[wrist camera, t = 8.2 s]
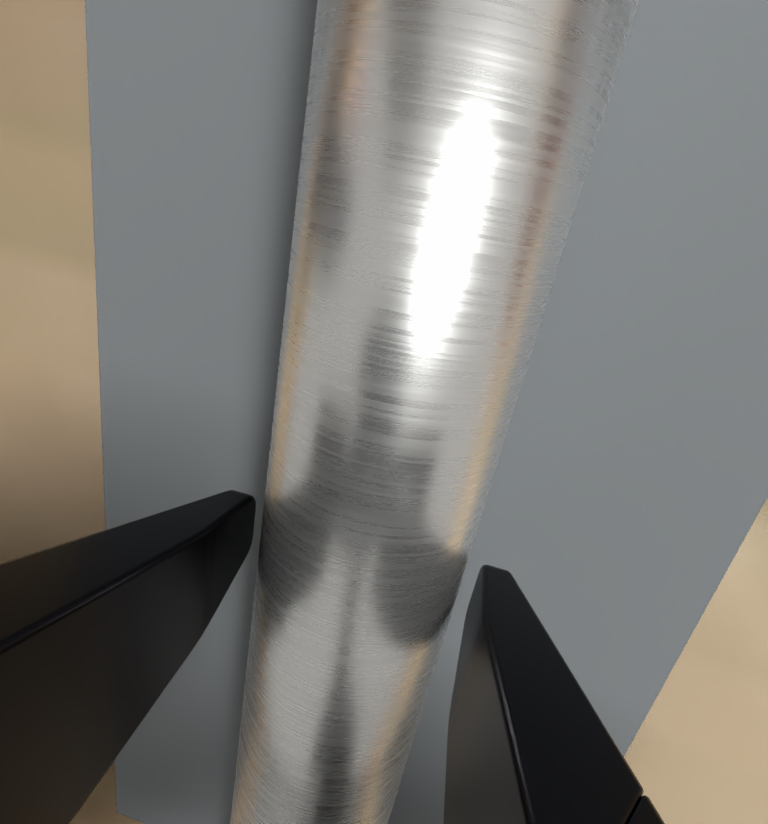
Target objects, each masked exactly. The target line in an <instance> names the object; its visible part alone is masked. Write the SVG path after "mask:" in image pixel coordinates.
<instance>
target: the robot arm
mask: <svg viewBox="0 0 768 824" xmlns="http://www.w3.org/2000/svg"><path fill="white" fill-rule="evenodd" d="M255 512H256V500H255V498H254V497H253V496H252V495H249V494H245V493H242V492H238V491H235V490H228V491H225V492H222V493H218V494H215V495H212V496H209V497H206V498H203V499H200V500H197V501H194V502H191V503H188V504H185V505H181V506H178V507H175V508H172V509H169V510H166V511H163V512H160V513H157V514H154V515H151V516H147V517H144V518H141V519H138V520H135V521H132V522H129V523H126V524H123V525H120V526H117V527H114V528H110V529H107V530H104V531H101V532H98V533H95V534H92V535H89V536H86V537H83V538H79V539H76V540H73V541H70V542H67V543H64V544H61V545H58V546H55V547H52V548H49V549H45V550H42V551H39V552H36V553H33V554H30V555H27V556H24V557H21V558H18V559H14V560H11V561H8V562H5V563H2V564H0V824H70V822H71V821H72V819H73V818H74V817H75V815H76V814H77V812H78V811H79V810H80V808H81V807H82V805H83V804H84V802H85V801H86V800H87V798H88V797H89V795H90V794H91V793H92V791H93V790H94V788H95V787H96V786H97V784H98V783H99V781H100V780H101V778H102V777H103V776H104V774H105V773H106V771H107V770H108V769H109V767H110V766H111V764H112V763H113V762H114V760H115V759H116V757H117V756H118V754H119V753H120V752H121V750H122V749H123V747H124V746H125V745H126V743H127V742H128V740H129V739H130V738H131V736H132V735H133V733H134V732H135V730H136V729H137V728H138V726H139V725H140V723H141V722H142V721H143V719H144V718H145V716H146V715H147V714H148V712H149V711H150V709H151V708H152V706H153V705H154V704H155V702H156V701H157V699H158V698H159V697H160V695H161V694H162V692H163V691H164V689H165V688H166V687H167V685H168V684H169V682H170V681H171V680H172V678H173V677H174V675H175V674H176V673H177V671H178V670H179V668H180V667H181V665H182V664H183V663H184V661H185V660H186V658H187V657H188V656H189V654H190V653H191V651H192V650H193V648H194V647H195V645H196V644H197V642H198V641H199V639H200V638H201V636H202V635H203V633H204V631H205V630H206V628H207V626H208V625H209V623H210V621H211V619H212V618H213V616H214V614H215V612H216V610H217V609H218V607H219V605H220V603H221V601H222V600H223V598H224V596H225V594H226V592H227V591H228V589H229V587H230V585H231V583H232V582H233V580H234V578H235V576H236V574H237V573H238V571H239V569H240V567H241V565H242V564H243V562H244V560H245V558H246V556H247V555H248V553H249V550H250V548H251V545H252V541H253V532H254V522H255ZM642 794H643V788H642V786H641V785H640V783H639V781H638V780H637V778H636V776H635V775H634V773H633V772H632V770H631V768H630V767H629V765H628V763H627V762H626V760H625V758H624V757H623V755H622V754H621V752H620V750H619V749H618V747H617V745H616V744H615V742H614V740H613V739H612V737H611V736H610V734H609V732H608V731H607V729H606V727H605V726H604V724H603V723H602V721H601V719H600V718H599V716H598V714H597V713H596V711H595V709H594V708H593V706H592V705H591V703H590V701H589V700H588V698H587V696H586V695H585V693H584V691H583V690H582V688H581V687H580V685H579V683H578V682H577V680H576V678H575V677H574V675H573V674H572V672H571V670H570V669H569V667H568V665H567V664H566V662H565V660H564V659H563V657H562V656H561V654H560V652H559V651H558V649H557V647H556V646H555V644H554V642H553V641H552V639H551V638H550V636H549V634H548V633H547V631H546V629H545V628H544V626H543V624H542V623H541V621H540V620H539V618H538V616H537V615H536V613H535V611H534V610H533V608H532V607H531V605H530V603H529V602H528V600H527V598H526V597H525V595H524V593H523V592H522V590H521V589H520V587H519V585H518V584H517V582H516V580H515V579H514V577H513V575H512V574H511V573H510V572H509V571H507V570H504V569H501V568H497V567H494V566H490V565H486V564H485V565H483V566H482V567H481V568H480V571H479V574H478V577H477V580H476V583H475V586H474V589H473V592H472V596H471V599H470V602H469V605H468V608H467V612H466V617H465V622H464V628H463V634H462V640H461V646H460V652H459V658H458V664H457V670H456V676H455V682H454V688H453V694H452V700H451V707H450V714H449V724H448V737H447V757H446V778H445V799H444V820H443V824H665V823H664V822H663V820H662V818H661V817H660V815H659V813H658V812H657V810H656V809H655V807H654V805H653V804H652V802H651V800H650V799H649V798H648V797H647V796H642ZM641 796H642V797H641Z"/></svg>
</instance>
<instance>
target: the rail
mask: <svg viewBox="0 0 768 824" xmlns="http://www.w3.org/2000/svg"><path fill="white" fill-rule="evenodd" d="M638 2H639V0H317V10H316V19H315V29H314V38H313V48H312V57H311V66H310V76H309V85H308V95H307V104H306V113H305V123H304V132H303V142H302V151H301V161H300V170H299V179H298V189H297V198H296V208H295V217H294V226H293V236H292V245H291V255H290V264H289V273H288V283H287V292H286V302H285V311H284V321H283V330H282V339H281V349H280V358H279V368H278V377H277V386H276V396H275V405H274V415H273V424H272V433H271V443H270V452H269V462H268V471H267V481H266V490H265V499H264V509H263V518H262V528H261V537H260V546H259V556H258V565H257V575H256V584H255V594H254V603H253V612H252V622H251V631H250V641H249V650H248V659H247V669H246V678H245V688H244V697H243V706H242V716H241V725H240V735H239V744H238V754H237V763H236V772H235V782H234V791H233V801H232V810H231V819H230V824H388V821H389V818H390V814H391V811H392V808H393V805H394V801H395V798H396V795H397V792H398V788H399V785H400V782H401V778H402V775H403V772H404V769H405V765H406V762H407V759H408V755H409V752H410V749H411V746H412V742H413V739H414V736H415V733H416V729H417V726H418V723H419V719H420V716H421V713H422V710H423V706H424V703H425V700H426V697H427V693H428V690H429V687H430V683H431V680H432V677H433V674H434V670H435V667H436V664H437V660H438V657H439V654H440V651H441V647H442V644H443V641H444V638H445V634H446V631H447V628H448V624H449V621H450V618H451V615H452V611H453V608H454V605H455V602H456V598H457V595H458V592H459V588H460V585H461V582H462V579H463V575H464V572H465V569H466V565H467V562H468V559H469V556H470V552H471V549H472V546H473V543H474V539H475V536H476V533H477V529H478V526H479V523H480V520H481V516H482V513H483V510H484V507H485V503H486V500H487V497H488V493H489V490H490V487H491V484H492V480H493V477H494V474H495V470H496V467H497V464H498V461H499V457H500V454H501V451H502V448H503V444H504V441H505V438H506V434H507V431H508V428H509V425H510V421H511V418H512V415H513V412H514V408H515V405H516V402H517V398H518V395H519V392H520V389H521V385H522V382H523V379H524V375H525V372H526V369H527V366H528V362H529V359H530V356H531V353H532V349H533V346H534V343H535V339H536V336H537V333H538V330H539V326H540V323H541V320H542V317H543V313H544V310H545V307H546V303H547V300H548V297H549V294H550V290H551V287H552V284H553V280H554V277H555V274H556V271H557V267H558V264H559V261H560V258H561V254H562V251H563V248H564V244H565V241H566V238H567V235H568V231H569V228H570V225H571V222H572V218H573V215H574V212H575V208H576V205H577V202H578V199H579V195H580V192H581V189H582V185H583V182H584V179H585V176H586V172H587V169H588V166H589V163H590V159H591V156H592V153H593V149H594V146H595V143H596V140H597V136H598V133H599V130H600V127H601V123H602V120H603V117H604V113H605V110H606V107H607V104H608V100H609V97H610V94H611V91H612V87H613V84H614V81H615V77H616V74H617V71H618V68H619V64H620V61H621V58H622V54H623V51H624V48H625V45H626V41H627V38H628V35H629V32H630V28H631V25H632V22H633V18H634V15H635V12H636V9H637V5H638Z"/></svg>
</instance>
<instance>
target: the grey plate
mask: <svg viewBox="0 0 768 824" xmlns="http://www.w3.org/2000/svg"><path fill="white" fill-rule="evenodd" d="M316 10H317V0H85V13H86V38H87V64H88V90H89V115H90V141H91V166H92V192H93V218H94V243H95V269H96V294H97V320H98V346H99V371H100V397H101V422H102V448H103V474H104V499H105V525H106V530H107V529H110V528H114V527H117V526H120V525H123V524H126V523H129V522H132V521H135V520H138V519H141V518H144V517H147V516H151V515H154V514H157V513H160V512H163V511H166V510H169V509H172V508H175V507H178V506H181V505H185V504H188V503H191V502H194V501H197V500H200V499H203V498H206V497H209V496H212V495H215V494H218V493H222V492H225V491H228V490H235V491H238V492H242V493H245V494H249V495H252V496H253V497H254V498H255V500H256V512H255V522H254V532H253V541H252V545H251V548H250V550H249V553H248V555H247V556H246V558H245V560H244V562H243V564H242V565H241V567H240V569H239V571H238V573H237V574H236V576H235V578H234V580H233V582H232V583H231V585H230V587H229V589H228V591H227V592H226V594H225V596H224V598H223V600H222V601H221V603H220V605H219V607H218V609H217V610H216V612H215V614H214V616H213V618H212V619H211V621H210V623H209V625H208V626H207V628H206V630H205V631H204V633H203V635H202V636H201V638H200V639H199V641H198V642H197V644H196V645H195V647H194V648H193V650H192V651H191V653H190V654H189V656H188V657H187V658H186V660H185V661H184V663H183V664H182V665H181V667H180V668H179V670H178V671H177V673H176V674H175V675H174V677H173V678H172V680H171V681H170V682H169V684H168V685H167V687H166V688H165V689H164V691H163V692H162V694H161V695H160V697H159V698H158V699H157V701H156V702H155V704H154V705H153V706H152V708H151V709H150V711H149V712H148V714H147V715H146V716H145V718H144V719H143V721H142V722H141V723H140V725H139V726H138V728H137V729H136V730H135V732H134V733H133V735H132V736H131V738H130V739H129V740H128V742H127V743H126V745H125V746H124V747H123V749H122V750H121V752H120V753H119V754H118V756H117V757H116V759H115V781H116V806H117V813H120V814H122V815H125V816H127V817H130V818H132V819H135V820H137V821H140V822H142V823H144V824H230V819H231V810H232V801H233V791H234V782H235V772H236V763H237V754H238V744H239V735H240V725H241V716H242V706H243V697H244V688H245V678H246V669H247V659H248V650H249V641H250V631H251V622H252V612H253V603H254V594H255V584H256V575H257V565H258V556H259V546H260V537H261V528H262V518H263V509H264V499H265V490H266V481H267V471H268V462H269V452H270V443H271V433H272V424H273V415H274V405H275V396H276V386H277V377H278V368H279V358H280V349H281V339H282V330H283V321H284V311H285V302H286V292H287V283H288V273H289V264H290V255H291V245H292V236H293V226H294V217H295V208H296V198H297V189H298V179H299V170H300V161H301V151H302V142H303V132H304V123H305V113H306V104H307V95H308V85H309V76H310V66H311V57H312V48H313V38H314V29H315V19H316ZM767 497H768V0H639V2H638V5H637V9H636V12H635V15H634V18H633V22H632V25H631V28H630V32H629V35H628V38H627V41H626V45H625V48H624V51H623V54H622V58H621V61H620V64H619V68H618V71H617V74H616V77H615V81H614V84H613V87H612V91H611V94H610V97H609V100H608V104H607V107H606V110H605V113H604V117H603V120H602V123H601V127H600V130H599V133H598V136H597V140H596V143H595V146H594V149H593V153H592V156H591V159H590V163H589V166H588V169H587V172H586V176H585V179H584V182H583V185H582V189H581V192H580V195H579V199H578V202H577V205H576V208H575V212H574V215H573V218H572V222H571V225H570V228H569V231H568V235H567V238H566V241H565V244H564V248H563V251H562V254H561V258H560V261H559V264H558V267H557V271H556V274H555V277H554V280H553V284H552V287H551V290H550V294H549V297H548V300H547V303H546V307H545V310H544V313H543V317H542V320H541V323H540V326H539V330H538V333H537V336H536V339H535V343H534V346H533V349H532V353H531V356H530V359H529V362H528V366H527V369H526V372H525V375H524V379H523V382H522V385H521V389H520V392H519V395H518V398H517V402H516V405H515V408H514V412H513V415H512V418H511V421H510V425H509V428H508V431H507V434H506V438H505V441H504V444H503V448H502V451H501V454H500V457H499V461H498V464H497V467H496V470H495V474H494V477H493V480H492V484H491V487H490V490H489V493H488V497H487V500H486V503H485V507H484V510H483V513H482V516H481V520H480V523H479V526H478V529H477V533H476V536H475V539H474V543H473V546H472V549H471V552H470V556H469V559H468V562H467V565H466V569H465V572H464V575H463V579H462V582H461V585H460V588H459V592H458V595H457V598H456V602H455V605H454V608H453V611H452V615H451V618H450V621H449V624H448V628H447V631H446V634H445V638H444V641H443V644H442V647H441V651H440V654H439V657H438V660H437V664H436V667H435V670H434V674H433V677H432V680H431V683H430V687H429V690H428V693H427V697H426V700H425V703H424V706H423V710H422V713H421V716H420V719H419V723H418V726H417V729H416V733H415V736H414V739H413V742H412V746H411V749H410V752H409V755H408V759H407V762H406V765H405V769H404V772H403V775H402V778H401V782H400V785H399V788H398V792H397V795H396V798H395V801H394V805H393V808H392V811H391V814H390V818H389V821H388V824H443V820H444V799H445V778H446V757H447V737H448V724H449V714H450V707H451V700H452V694H453V688H454V682H455V676H456V670H457V664H458V658H459V652H460V646H461V640H462V634H463V628H464V622H465V617H466V612H467V608H468V605H469V602H470V599H471V596H472V592H473V589H474V586H475V583H476V580H477V577H478V574H479V571H480V568H481V567H482V566H483V565H485V564H486V565H490V566H494V567H497V568H501V569H504V570H507V571H509V572H510V573H511V574H512V575H513V577H514V579H515V580H516V582H517V584H518V585H519V587H520V589H521V590H522V592H523V593H524V595H525V597H526V598H527V600H528V602H529V603H530V605H531V607H532V608H533V610H534V611H535V613H536V615H537V616H538V618H539V620H540V621H541V623H542V624H543V626H544V628H545V629H546V631H547V633H548V634H549V636H550V638H551V639H552V641H553V642H554V644H555V646H556V647H557V649H558V651H559V652H560V654H561V656H562V657H563V659H564V660H565V662H566V664H567V665H568V667H569V669H570V670H571V672H572V674H573V675H574V677H575V678H576V680H577V682H578V683H579V685H580V687H581V688H582V690H583V691H584V693H585V695H586V696H587V698H588V700H589V701H590V703H591V705H592V706H593V708H594V709H595V711H596V713H597V714H598V716H599V718H600V719H601V721H602V723H603V724H604V726H605V727H606V729H607V731H608V732H609V734H610V736H611V737H612V739H613V740H614V742H615V744H616V745H617V747H618V749H619V750H620V752H621V754H622V755H623V757H624V755H625V753H626V752H627V750H628V748H629V746H630V744H631V743H632V741H633V739H634V737H635V735H636V733H637V732H638V730H639V728H640V726H641V724H642V723H643V721H644V719H645V717H646V715H647V714H648V712H649V710H650V708H651V706H652V705H653V703H654V701H655V699H656V697H657V696H658V694H659V692H660V690H661V688H662V687H663V685H664V683H665V681H666V679H667V678H668V676H669V674H670V672H671V670H672V668H673V667H674V665H675V663H676V661H677V659H678V658H679V656H680V654H681V652H682V650H683V649H684V647H685V645H686V643H687V641H688V640H689V638H690V636H691V634H692V632H693V631H694V629H695V627H696V625H697V623H698V622H699V620H700V618H701V616H702V614H703V612H704V611H705V609H706V607H707V605H708V603H709V602H710V600H711V598H712V596H713V594H714V593H715V591H716V589H717V587H718V585H719V584H720V582H721V580H722V578H723V576H724V575H725V573H726V571H727V569H728V567H729V566H730V564H731V562H732V560H733V558H734V557H735V555H736V553H737V551H738V549H739V547H740V546H741V544H742V542H743V540H744V538H745V537H746V535H747V533H748V531H749V529H750V528H751V526H752V524H753V522H754V520H755V519H756V517H757V515H758V513H759V511H760V510H761V508H762V506H763V504H764V502H765V501H766V499H767Z"/></svg>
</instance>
